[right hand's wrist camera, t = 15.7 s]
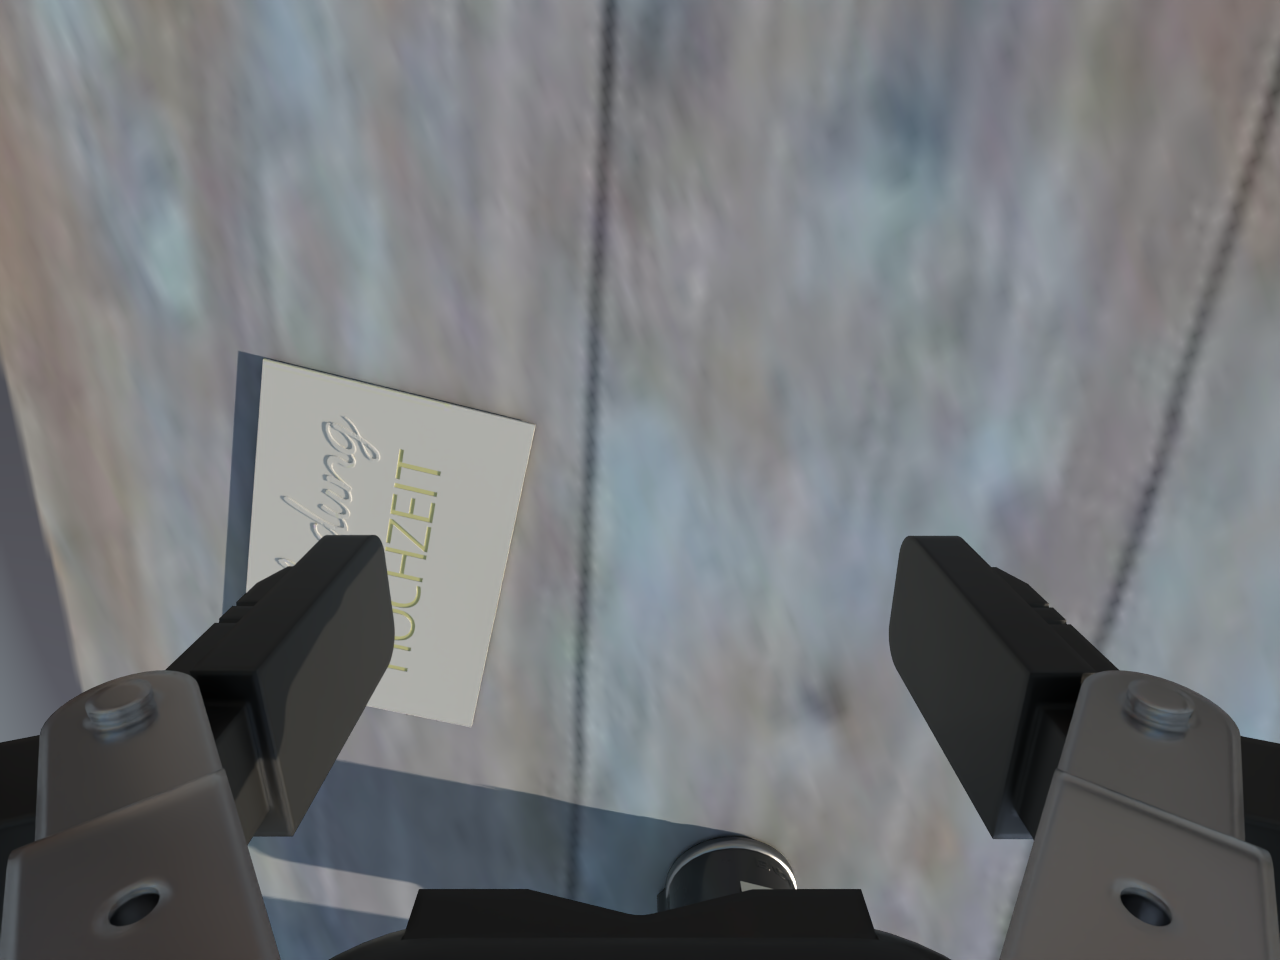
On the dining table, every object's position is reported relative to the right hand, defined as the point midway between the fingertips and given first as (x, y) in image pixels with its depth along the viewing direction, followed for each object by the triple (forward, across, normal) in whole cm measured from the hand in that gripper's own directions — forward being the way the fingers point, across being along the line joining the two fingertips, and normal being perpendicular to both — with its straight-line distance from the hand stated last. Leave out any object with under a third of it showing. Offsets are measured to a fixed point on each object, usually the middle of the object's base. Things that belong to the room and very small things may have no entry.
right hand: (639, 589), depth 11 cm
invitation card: (+29, +16, +14) cm, 36 cm away
